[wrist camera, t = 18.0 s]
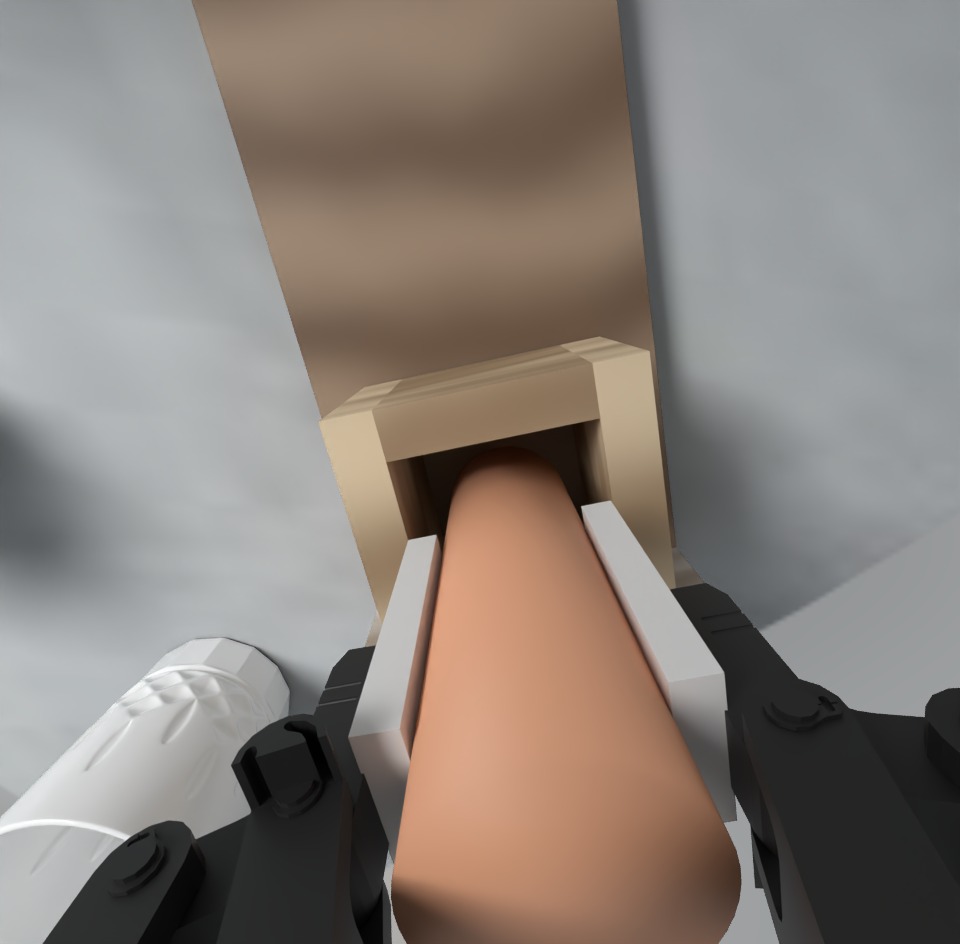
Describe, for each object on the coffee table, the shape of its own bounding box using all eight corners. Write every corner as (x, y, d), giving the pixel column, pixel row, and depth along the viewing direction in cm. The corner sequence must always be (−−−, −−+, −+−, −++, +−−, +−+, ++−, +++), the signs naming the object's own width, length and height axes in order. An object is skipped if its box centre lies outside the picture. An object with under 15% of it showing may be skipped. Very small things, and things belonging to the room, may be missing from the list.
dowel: (468, 564, 19) (445, 1032, 7) (437, 462, 18) (343, 802, 6) (575, 539, 19) (758, 982, 6) (552, 433, 18) (718, 726, 5)
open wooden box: (364, 387, 20) (318, 421, 14) (599, 336, 19) (649, 350, 14) (421, 591, 23) (402, 689, 17) (629, 552, 22) (681, 639, 16)
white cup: (287, 620, 25) (171, 814, 16) (315, 750, 28) (228, 986, 18) (125, 630, 25) (-89, 828, 16) (166, 758, 28) (3, 996, 18)
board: (195, -40, 17) (-114, -410, 8) (586, -147, 17) (714, -687, 8) (397, 625, 25) (351, 806, 16) (669, 575, 24) (781, 736, 15)
